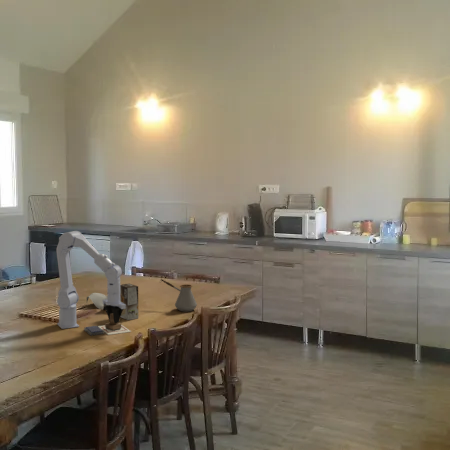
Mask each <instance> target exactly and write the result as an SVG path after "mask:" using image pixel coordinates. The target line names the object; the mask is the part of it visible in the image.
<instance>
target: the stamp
mask: <svg viewBox="0 0 450 450" xmlns="http://www.w3.org/2000/svg"><path fill="white" fill-rule="evenodd" d="M104 325H105V327H106V329H109V330H112V331H115V330H119V329H121V325H122V323H120V324H119V323H114V316H113V313H112V314H110V322H106V323H104Z"/></svg>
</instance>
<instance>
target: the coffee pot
mask: <svg viewBox="0 0 450 450" xmlns="http://www.w3.org/2000/svg"><path fill="white" fill-rule="evenodd" d="M162 282H163V283H164V284H166V285H167V286H170V287H172V288H174V289H175V290H177V291H178V292H179V293H178V297H177V299H176V301H175V304H174V307H175V308H176V309H177V310H178V311H180V312H192V311H194V309H196V308H197V305H198V304H197V301H196V298H195V297H194V293H193V291H192V287H193V285H192V284H180V285H179V287H180V288H178V287H177V286H175V285H173V284H172V283H170V282H169V281H166V280H164V279H162V278H161V279H160V280H159V283H162Z"/></svg>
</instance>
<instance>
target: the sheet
mask: <svg viewBox="0 0 450 450" xmlns="http://www.w3.org/2000/svg"><path fill="white" fill-rule="evenodd" d="M119 324H121V323H119ZM97 326H98V327H99V328H101V329H102V330H103V331H104V334H106V335H108V336H111V335H112V336H113V335H117V334H126V333H132V330H129V328H127V327H126V326H124V325H122V324H121V329H119V330H115V331H112V330H109V329H106V327H105V324H104V325H97Z"/></svg>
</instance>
